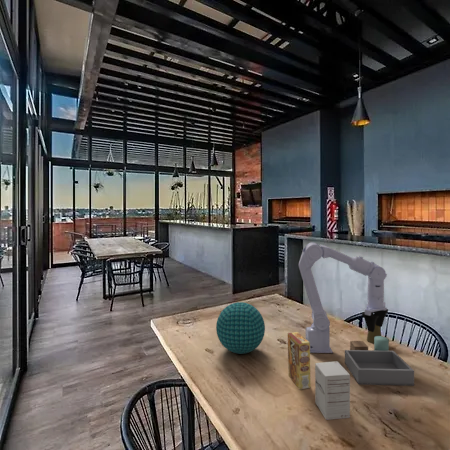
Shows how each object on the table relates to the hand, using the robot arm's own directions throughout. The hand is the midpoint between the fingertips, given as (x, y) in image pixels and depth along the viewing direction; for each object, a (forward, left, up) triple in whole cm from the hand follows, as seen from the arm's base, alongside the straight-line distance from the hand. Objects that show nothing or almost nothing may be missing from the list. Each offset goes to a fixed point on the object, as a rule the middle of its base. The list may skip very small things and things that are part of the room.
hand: (375, 328), depth 117 cm
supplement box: (-27, -35, -10) cm, 46 cm away
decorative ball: (-54, 0, -10) cm, 55 cm away
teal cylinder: (+1, -3, -10) cm, 10 cm away
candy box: (-34, -21, -10) cm, 41 cm away
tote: (-6, -15, -10) cm, 19 cm away
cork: (+4, +11, -10) cm, 15 cm away
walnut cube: (-7, -3, -10) cm, 13 cm away
